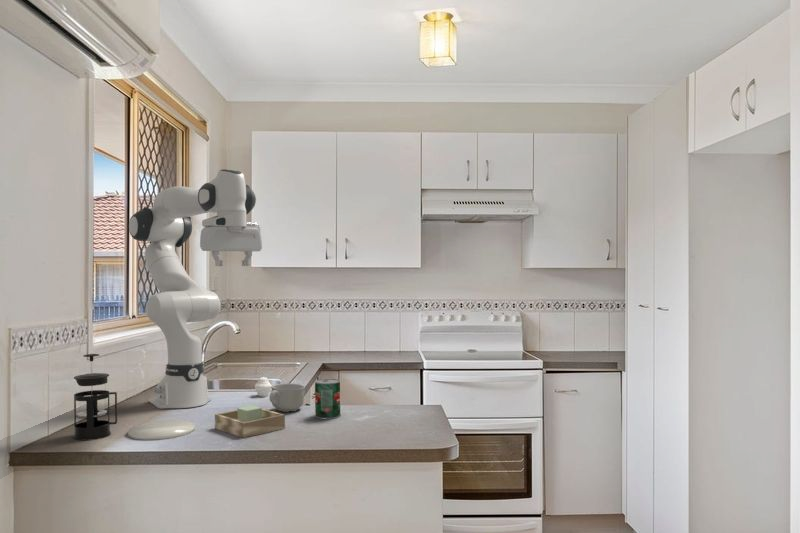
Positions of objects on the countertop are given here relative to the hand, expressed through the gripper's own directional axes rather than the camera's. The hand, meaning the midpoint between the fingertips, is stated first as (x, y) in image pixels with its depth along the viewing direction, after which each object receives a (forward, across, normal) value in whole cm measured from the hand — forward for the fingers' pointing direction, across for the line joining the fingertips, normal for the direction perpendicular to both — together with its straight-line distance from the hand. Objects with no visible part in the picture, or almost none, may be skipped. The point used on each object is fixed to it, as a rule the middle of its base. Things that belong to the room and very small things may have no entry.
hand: (232, 266), depth 199 cm
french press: (+48, +37, -13) cm, 62 cm away
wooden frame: (+47, +4, +14) cm, 50 cm away
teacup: (+48, -16, +4) cm, 50 cm away
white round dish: (+47, +22, -2) cm, 52 cm away
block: (+47, +4, +14) cm, 50 cm away
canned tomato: (+48, -21, +20) cm, 56 cm away
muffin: (+48, -26, -22) cm, 59 cm away
